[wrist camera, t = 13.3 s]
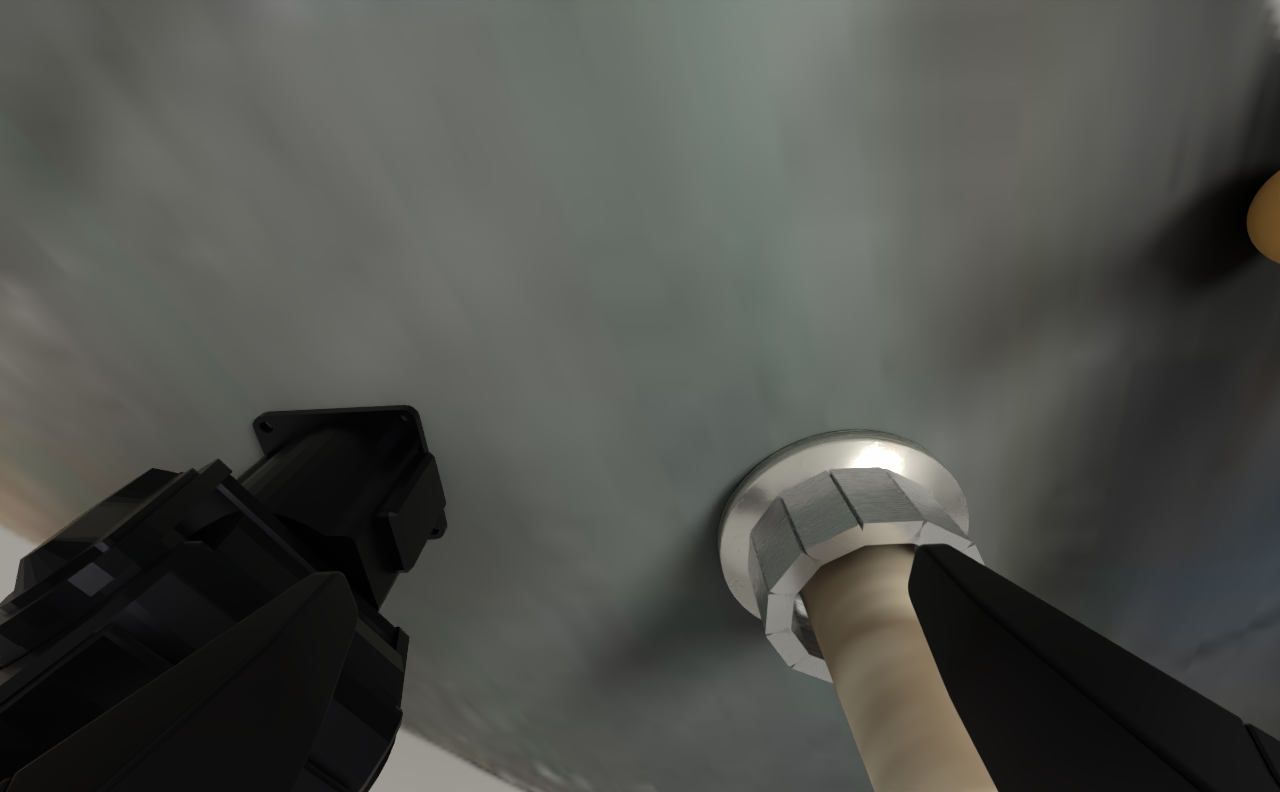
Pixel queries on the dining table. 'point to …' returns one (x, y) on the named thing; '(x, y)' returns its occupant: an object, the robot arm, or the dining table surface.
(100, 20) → the dining table surface
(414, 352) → the dining table surface
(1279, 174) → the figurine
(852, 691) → the birch plug
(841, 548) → the silver flanged nut
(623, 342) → the dining table surface
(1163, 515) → the dining table surface
